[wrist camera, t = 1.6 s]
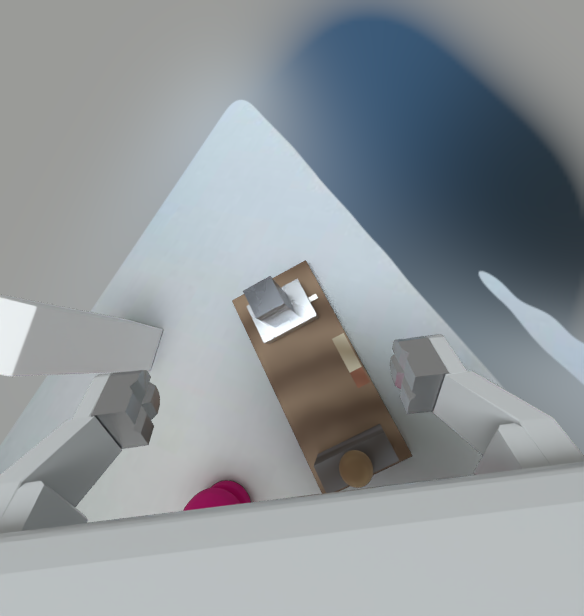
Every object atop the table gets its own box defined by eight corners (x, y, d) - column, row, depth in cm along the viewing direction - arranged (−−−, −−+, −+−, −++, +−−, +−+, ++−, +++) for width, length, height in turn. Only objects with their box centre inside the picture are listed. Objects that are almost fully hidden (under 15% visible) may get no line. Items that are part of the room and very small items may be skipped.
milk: (163, 329, 45) (-4, 298, 24) (150, 371, 44) (-35, 378, 23) (127, 319, 46) (-63, 281, 25) (114, 359, 46) (-93, 356, 24)
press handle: (326, 313, 40) (318, 296, 29) (269, 344, 40) (241, 337, 30) (308, 279, 41) (294, 251, 31) (252, 309, 41) (220, 291, 31)
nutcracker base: (410, 452, 37) (429, 480, 28) (325, 493, 38) (318, 533, 29) (307, 263, 43) (296, 237, 34) (235, 302, 44) (206, 287, 35)
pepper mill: (206, 470, 41) (75, 567, 21) (260, 483, 39) (174, 599, 20) (195, 531, 40) (47, 692, 20) (250, 547, 38) (149, 735, 19)
